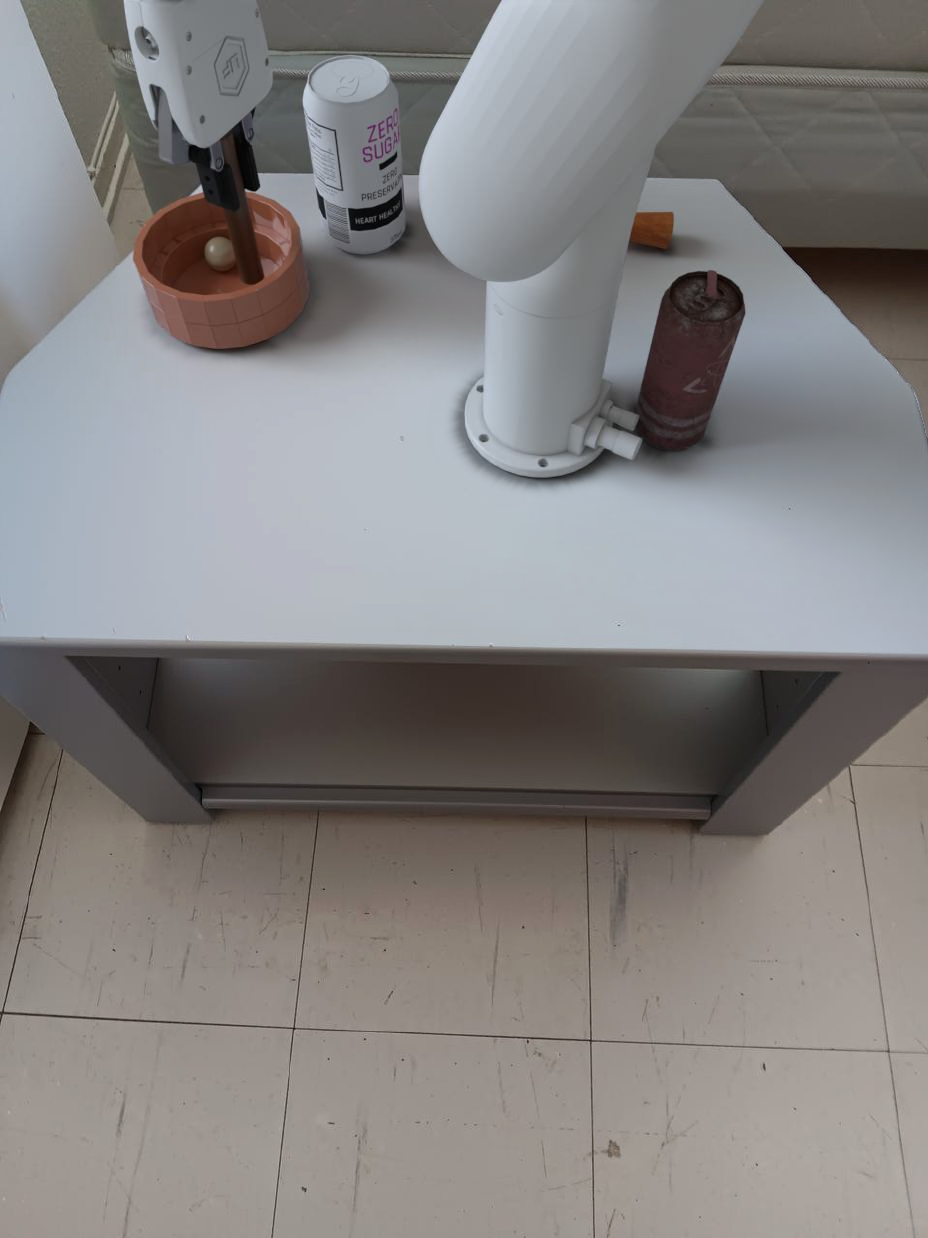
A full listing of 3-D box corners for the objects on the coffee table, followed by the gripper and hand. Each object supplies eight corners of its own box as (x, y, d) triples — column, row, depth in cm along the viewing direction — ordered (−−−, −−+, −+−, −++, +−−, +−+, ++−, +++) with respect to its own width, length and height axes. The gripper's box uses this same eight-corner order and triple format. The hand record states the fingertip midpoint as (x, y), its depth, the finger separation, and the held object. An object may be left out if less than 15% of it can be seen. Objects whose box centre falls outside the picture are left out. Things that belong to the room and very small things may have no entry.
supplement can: (333, 199, 93) (313, 46, 80) (413, 209, 92) (405, 56, 79) (313, 252, 89) (288, 100, 76) (396, 262, 88) (385, 111, 75)
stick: (269, 273, 84) (237, 127, 72) (255, 288, 84) (220, 143, 71) (249, 265, 85) (214, 119, 73) (235, 280, 84) (197, 134, 72)
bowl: (339, 275, 88) (331, 221, 82) (251, 374, 81) (236, 322, 76) (214, 227, 91) (199, 171, 86) (120, 319, 85) (98, 265, 79)
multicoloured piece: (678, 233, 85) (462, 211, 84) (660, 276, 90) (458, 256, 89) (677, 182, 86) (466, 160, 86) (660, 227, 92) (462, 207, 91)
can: (703, 399, 80) (746, 266, 68) (705, 456, 77) (751, 327, 64) (633, 394, 80) (663, 261, 68) (632, 450, 77) (664, 321, 65)
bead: (246, 262, 88) (240, 236, 85) (228, 281, 86) (220, 255, 84) (221, 252, 88) (213, 225, 86) (202, 271, 87) (194, 244, 84)
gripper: (144, 20, 57) (214, 266, 73) (288, -91, 64) (322, 156, 80) (50, -11, 58) (138, 236, 74) (199, -116, 65) (250, 131, 81)
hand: (233, 193), depth 77 cm, fingers closed on stick, 2 cm apart
